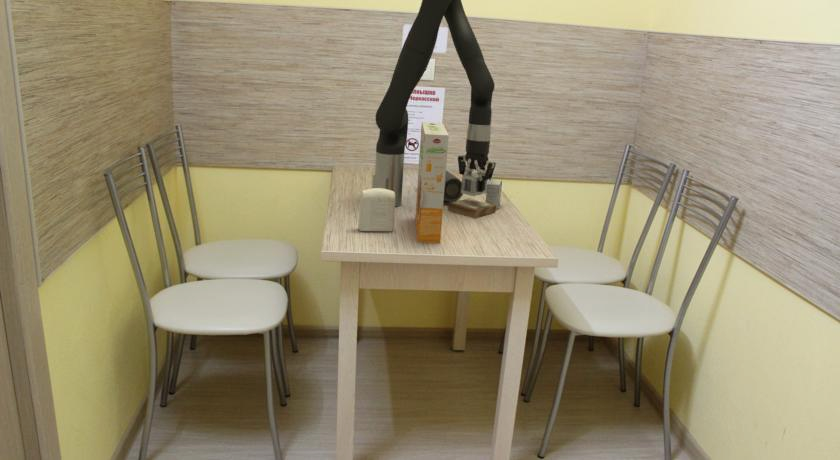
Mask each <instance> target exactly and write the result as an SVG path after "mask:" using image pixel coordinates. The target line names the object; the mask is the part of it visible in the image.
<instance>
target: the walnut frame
mask: <svg viewBox="0 0 840 460" xmlns="http://www.w3.org/2000/svg"><path fill="white" fill-rule="evenodd" d="M447 207H448V209H447V210H448V211H449V212H452V213H456V214H460V215H463V216H466V217H469V218H472V219H477V218H481V217H485V216H487V215H491V214H495V213H496V205H492V204H489V203H486V201H485V202H484V201H480V200H477V199H474V198H470V197H469V198H463V199H459V200H457V201H454V202H448V206H447Z"/></svg>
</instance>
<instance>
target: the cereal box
mask: <svg viewBox="0 0 840 460" xmlns="http://www.w3.org/2000/svg"><path fill="white" fill-rule="evenodd" d="M420 127H421V129H420V139H419V140H420V143H419V154H418V155H419V156H418V157H419V158H418V173H417V174H418V175H417V184H416V185H417V186H416V187H417V189H416V202H415V215H414V216H415V218H414V220H415V229H416V239H417V243H430V242H432V243H433V242H434V244H441V237H442V225H443V224H442V223H443V211H444V202H445V201H444V188H445V175H446V171H447V159H448V149H449V147H448V146H449V138H450V137H449V133H448V131H447V129H446V127H445V125H444V123H441V122H428V121H426V122H425V121H422V122H421V126H420Z"/></svg>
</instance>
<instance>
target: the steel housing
mask: <svg viewBox="0 0 840 460" xmlns="http://www.w3.org/2000/svg"><path fill="white" fill-rule="evenodd" d="M461 175H462V174H461ZM479 181H480V180H479V175H478V174H477V171H475V172H472V173H470V174H465V175H462V178H461V182H462V187H461V193H463V195H468V196H471V197H475V196H476V197H477V196H479V195H480V196H481V195H484V194H485V195H486V192H487V184H488V180H486V183H485V190H484V191H483V192H478V186H479Z"/></svg>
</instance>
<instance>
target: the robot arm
mask: <svg viewBox="0 0 840 460" xmlns="http://www.w3.org/2000/svg"><path fill="white" fill-rule="evenodd" d="M443 18H444V19H445V21H446V24H447V27H448V30H449V33H450V36H451V41H452V42H453V43H452V44H453V45H454V49H455V51H456V53H457V56H458V58H459V61H460V63H461V65H462V67H463V69H464V70H465V74H466V76H467V79H468V83H469V85H470V107H469V112H468V123H467V128H466V129H467V131H466V142H465V153H466V154H465V155H463V154H462V155H458V156H457V165H458V171H459V172H458V173H459V175H465V174H470V173H473V171H474V170H475V171H476V173H477V174H478V175H479V180H480V181H479V186H478V192H483V191H484V190H485V183H486V180H487V181H489V180H490V179H492V177H493V174H494V171H495V168H496V165H497V163H496V162H495V161H491V160H489V153H490V146H491V145H490V143H491V135H492V128H491V124H492V115H493V114H492V111H493V110H492V101H493V93H494V91H495V85H496V84H495V82H494V79H493V76H492V74H491V72H490V70H489V68H488V66H487V64H486V62H485V58H484V55H483V52H482V49H481V46H480V44H479V42H478V40H477V37H476V35H475V32H474V31H473V28H472V26H471V24H470V21H469V19H468V17H467V14H466V12H465V9H464V6H463V2H462V0H421V4H420V7H419V11H418V13H417V14H416V17H415V19H414V21H413V23H412V25H411V27H410V29H409V31H408V33H407V36H406V39H405V40H404V43H403V45H402V47H401V51H400V54H399V56H398V59H397V63H396V65H395V68H394V71H393V74H392V76H391V81H390V84H389V86H388V88H387V91H386V92H385V95H384V97H383V98H382V101H381V103H380V104H379V106H378V108H377V110H376V113H375V117H374V118H375V124H376V126H377V129H379V135H378V140H377V142H376V145H375V147H376V148H375V165H374V166H375V167H374V174H373V175H372V181H371V183H372V185H371V189H372V188H383V189H388V190H391V191H393V192H394V193H395V198H396V201H395V207H399V206H401V205H402V198H403V182H404V165H405V151H406V150H405V149H406V146H407V139H408V128H409V127H408V126H409V112H408V110H407V106H408V103H409V101H410V98H411V97H412V94H413V93H414V92H413V91H415V88H416V87H417V86H418V84H419V82H420V80H422V77H423V75H424V74H425V72H426V69H427V68H428V66H429V64H430V61H431V59H432V55H433V53H434V50H435V47H436V44H437V39H438V35H439V29H440V27H441V26H440V25H441V23H442V21H443Z"/></svg>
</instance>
